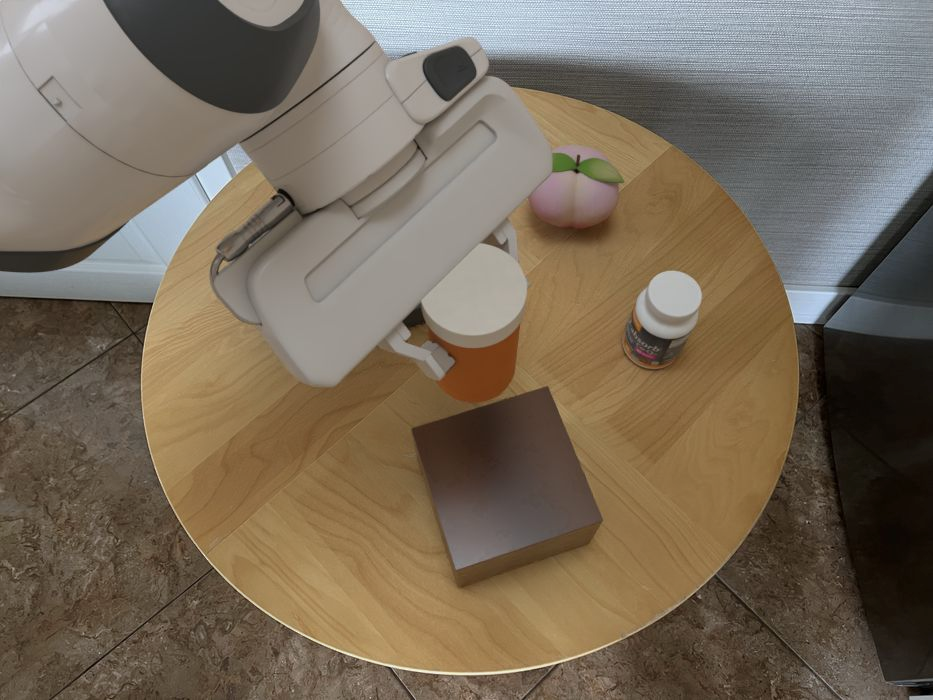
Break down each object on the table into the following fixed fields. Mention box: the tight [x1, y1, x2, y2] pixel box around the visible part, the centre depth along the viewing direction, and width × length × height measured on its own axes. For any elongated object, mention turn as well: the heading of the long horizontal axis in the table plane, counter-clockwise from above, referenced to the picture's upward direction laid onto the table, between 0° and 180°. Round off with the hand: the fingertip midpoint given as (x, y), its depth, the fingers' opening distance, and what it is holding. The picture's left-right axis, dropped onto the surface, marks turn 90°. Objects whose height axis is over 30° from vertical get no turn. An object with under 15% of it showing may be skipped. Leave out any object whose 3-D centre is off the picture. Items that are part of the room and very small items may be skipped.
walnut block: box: [410, 385, 604, 589], centre depth 63 cm, size 12×12×8 cm
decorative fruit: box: [527, 144, 625, 229], centre depth 76 cm, size 9×8×10 cm
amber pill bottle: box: [421, 243, 528, 404], centre depth 46 cm, size 6×6×10 cm
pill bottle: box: [621, 270, 703, 370], centre depth 69 cm, size 6×6×10 cm
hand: (481, 331), depth 46 cm, fingers closed on amber pill bottle, 5 cm apart
